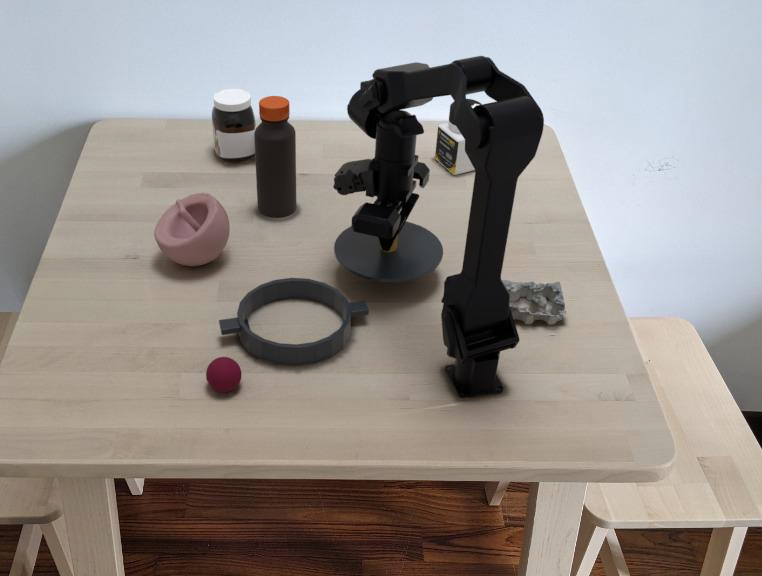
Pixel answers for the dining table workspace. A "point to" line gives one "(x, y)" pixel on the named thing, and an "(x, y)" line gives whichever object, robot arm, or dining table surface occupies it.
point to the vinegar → (275, 159)
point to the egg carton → (536, 301)
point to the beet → (223, 374)
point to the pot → (293, 352)
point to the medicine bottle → (453, 145)
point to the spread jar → (233, 126)
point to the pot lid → (390, 254)
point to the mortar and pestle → (193, 230)
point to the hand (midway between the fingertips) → (388, 245)
